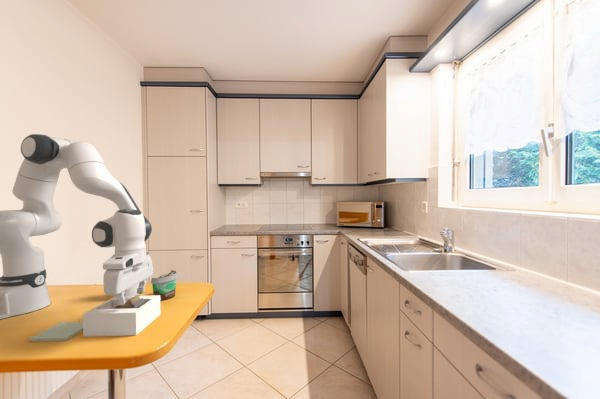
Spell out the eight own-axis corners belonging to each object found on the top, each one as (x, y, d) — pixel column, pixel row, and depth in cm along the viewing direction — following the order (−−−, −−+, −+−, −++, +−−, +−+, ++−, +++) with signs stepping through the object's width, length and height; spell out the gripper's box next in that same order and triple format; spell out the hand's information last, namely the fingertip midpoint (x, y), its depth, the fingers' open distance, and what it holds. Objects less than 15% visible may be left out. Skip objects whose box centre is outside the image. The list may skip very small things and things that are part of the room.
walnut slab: (104, 322, 83) (100, 315, 83) (113, 316, 87) (109, 309, 87) (134, 306, 83) (129, 299, 83) (141, 301, 87) (137, 294, 87)
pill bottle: (123, 301, 104) (122, 265, 104) (114, 298, 109) (113, 263, 109) (143, 295, 111) (143, 261, 111) (134, 292, 115) (133, 259, 115)
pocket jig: (83, 336, 78) (82, 313, 78) (115, 315, 92) (115, 296, 92) (136, 335, 78) (135, 312, 78) (160, 314, 92) (160, 295, 92)
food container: (164, 303, 102) (163, 279, 102) (151, 302, 103) (150, 278, 103) (184, 292, 114) (183, 270, 114) (172, 291, 115) (171, 269, 115)
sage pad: (29, 341, 76) (29, 338, 76) (60, 324, 86) (60, 322, 86) (66, 340, 76) (66, 337, 76) (93, 323, 86) (93, 321, 86)
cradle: (103, 327, 82) (100, 321, 82) (115, 319, 88) (112, 314, 88) (136, 309, 83) (133, 304, 83) (146, 302, 88) (143, 297, 88)
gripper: (140, 251, 96) (141, 287, 96) (98, 265, 75) (99, 312, 75) (157, 250, 96) (158, 287, 96) (119, 265, 75) (121, 311, 75)
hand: (132, 298), depth 85 cm, fingers open, 8 cm apart
